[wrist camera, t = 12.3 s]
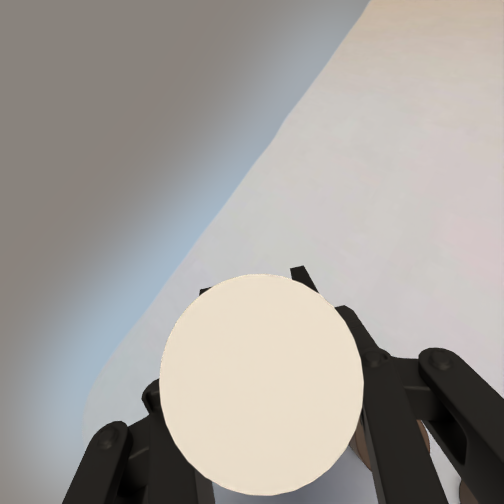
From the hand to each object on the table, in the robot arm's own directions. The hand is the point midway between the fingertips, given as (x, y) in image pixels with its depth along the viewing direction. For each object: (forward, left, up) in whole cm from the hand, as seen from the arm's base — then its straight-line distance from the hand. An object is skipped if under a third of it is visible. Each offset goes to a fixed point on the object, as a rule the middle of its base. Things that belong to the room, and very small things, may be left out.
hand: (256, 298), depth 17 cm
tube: (0, -4, -5) cm, 7 cm away
